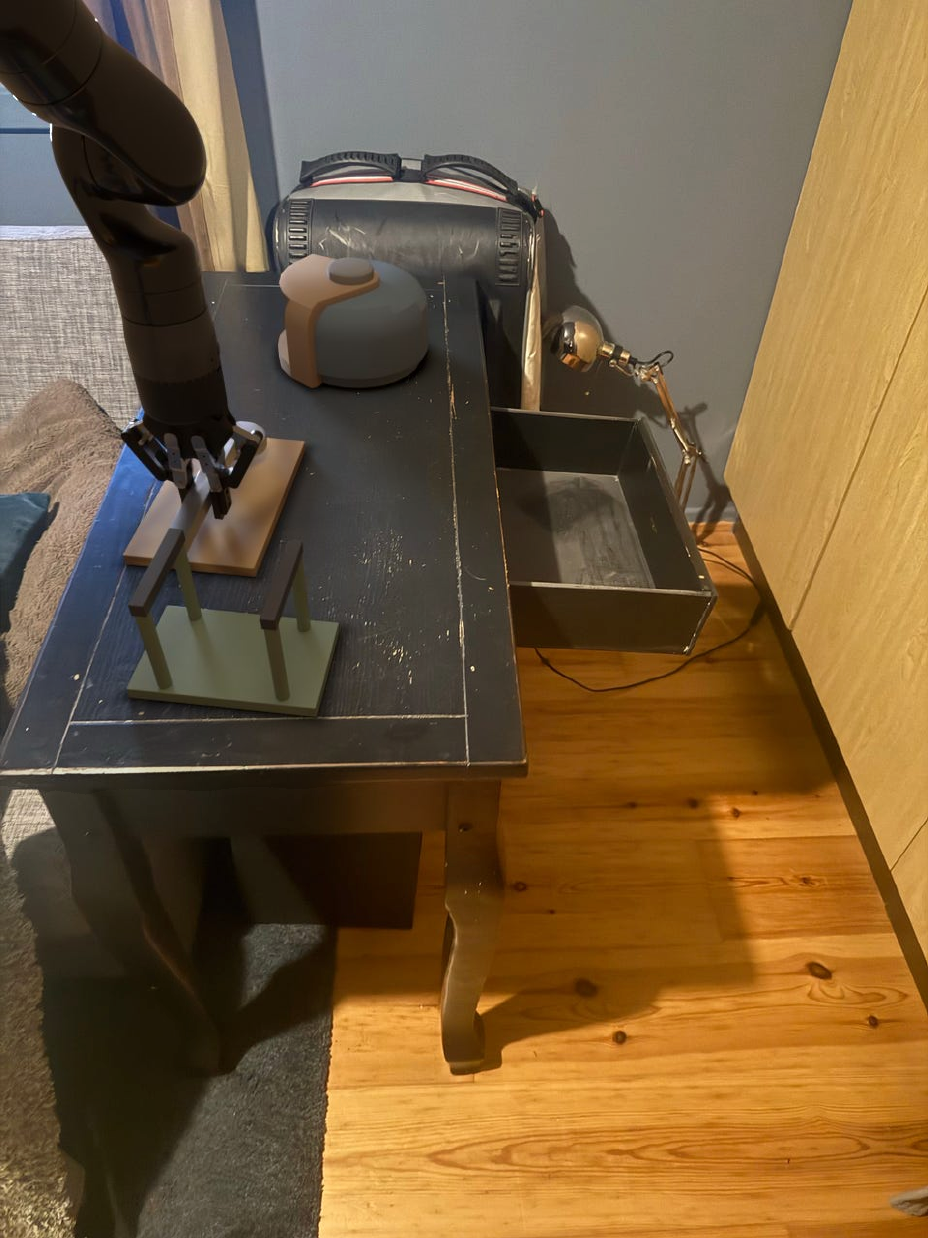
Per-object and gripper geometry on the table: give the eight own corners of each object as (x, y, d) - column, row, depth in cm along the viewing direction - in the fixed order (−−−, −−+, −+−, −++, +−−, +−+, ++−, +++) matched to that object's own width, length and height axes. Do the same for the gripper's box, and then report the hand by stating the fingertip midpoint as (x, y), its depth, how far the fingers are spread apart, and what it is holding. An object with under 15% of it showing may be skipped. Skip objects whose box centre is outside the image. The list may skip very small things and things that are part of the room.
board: (124, 564, 80) (121, 555, 80) (196, 439, 96) (194, 430, 95) (255, 577, 80) (254, 568, 79) (305, 449, 95) (305, 441, 95)
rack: (129, 697, 69) (93, 605, 61) (169, 614, 76) (142, 521, 68) (316, 717, 69) (305, 627, 61) (339, 631, 76) (332, 540, 68)
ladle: (210, 570, 77) (204, 545, 75) (147, 564, 77) (140, 538, 75) (273, 432, 93) (269, 408, 91) (221, 427, 94) (216, 403, 91)
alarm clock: (278, 324, 116) (268, 236, 108) (418, 320, 119) (419, 234, 111) (280, 395, 103) (268, 302, 95) (437, 388, 106) (440, 297, 98)
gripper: (79, 371, 69) (129, 530, 81) (241, 386, 69) (266, 543, 81) (114, 329, 74) (155, 485, 87) (264, 343, 74) (284, 497, 86)
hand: (209, 512), depth 84 cm, fingers closed on ladle, 2 cm apart
